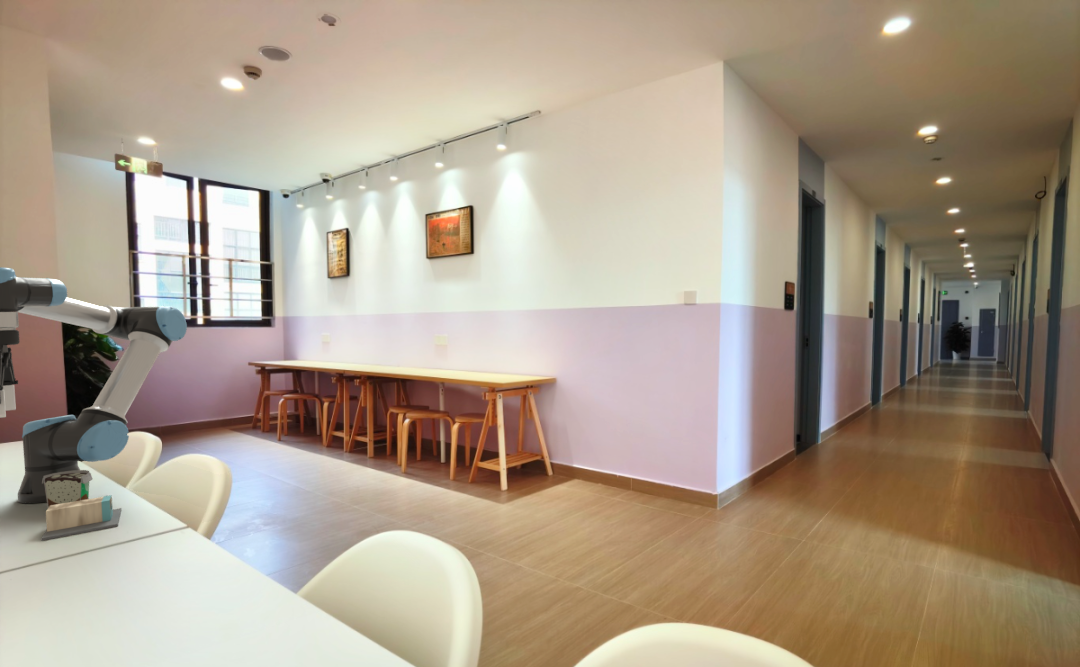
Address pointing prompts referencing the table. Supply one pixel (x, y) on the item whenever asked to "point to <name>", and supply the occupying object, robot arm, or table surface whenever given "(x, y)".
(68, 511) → the maple block
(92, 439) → the robot arm
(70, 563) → the table surface
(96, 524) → the charcoal mat
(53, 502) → the food container
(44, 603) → the table surface
